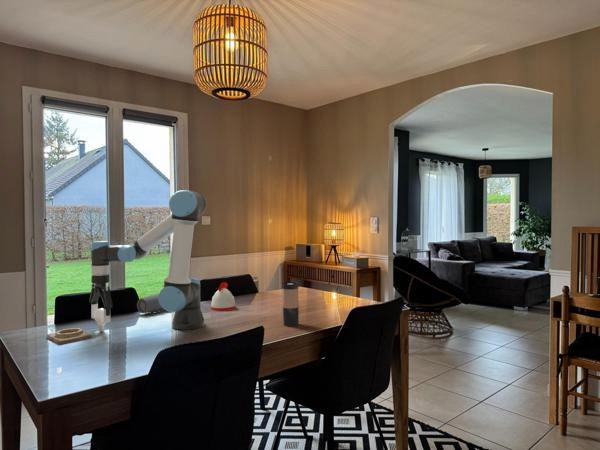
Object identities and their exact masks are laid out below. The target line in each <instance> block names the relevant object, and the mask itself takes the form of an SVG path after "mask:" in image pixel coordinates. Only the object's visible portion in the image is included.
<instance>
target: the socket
mask: <svg viewBox="0 0 600 450" xmlns="http://www.w3.org/2000/svg"><path fill="white" fill-rule="evenodd" d="M46 338H47V339H48V340H51V342H54V343H56V344H58V345H60V346H61V345H64V344H69V343H75V342H79V341H84V340H88V339H93V334H92V333H89V332H87V331H85V330H84V329H82V328H80V327H72V328H69V327H68V328H66V329H60V330H58V331H56V332H54V333H53V332H51V333H48V334H46Z"/></svg>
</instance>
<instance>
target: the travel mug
mask: <svg viewBox="0 0 600 450" xmlns="http://www.w3.org/2000/svg"><path fill="white" fill-rule="evenodd" d="M299 303H300V302H299V283H298V282H297V281H295V282H294V281H289V282H288V281H287V282H282V318H283V322H282V323H283V326H285V327H297V326H298V325H299V311H300V305H299Z"/></svg>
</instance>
